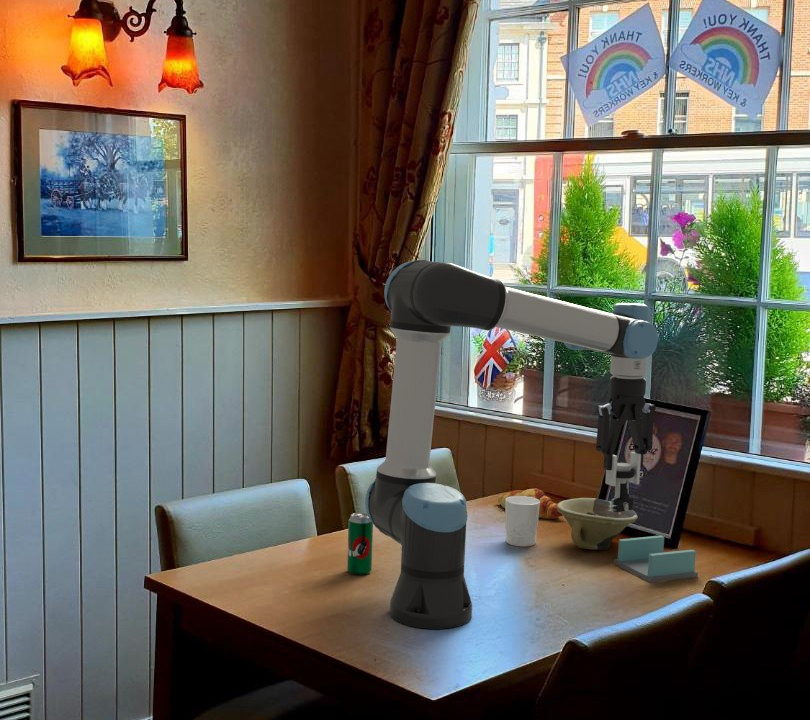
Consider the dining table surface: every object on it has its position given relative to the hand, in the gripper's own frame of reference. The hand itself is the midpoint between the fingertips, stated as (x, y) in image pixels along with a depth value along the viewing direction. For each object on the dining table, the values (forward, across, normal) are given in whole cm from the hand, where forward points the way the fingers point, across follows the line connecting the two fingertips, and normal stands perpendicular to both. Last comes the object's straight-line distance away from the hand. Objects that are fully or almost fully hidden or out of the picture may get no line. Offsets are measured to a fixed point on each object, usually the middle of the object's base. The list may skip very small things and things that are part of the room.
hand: (622, 483), depth 227 cm
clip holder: (+18, +6, -5) cm, 20 cm away
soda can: (+18, -55, +12) cm, 59 cm away
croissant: (+19, +3, +44) cm, 48 cm away
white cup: (+18, -12, +21) cm, 31 cm away
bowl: (+18, +3, +13) cm, 23 cm away
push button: (+6, 0, 0) cm, 6 cm away
